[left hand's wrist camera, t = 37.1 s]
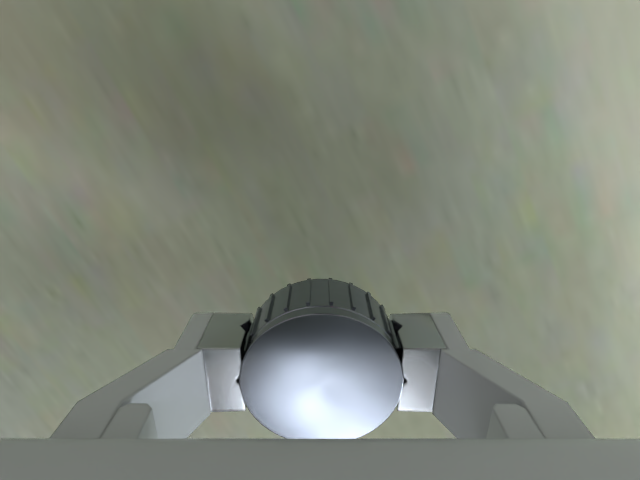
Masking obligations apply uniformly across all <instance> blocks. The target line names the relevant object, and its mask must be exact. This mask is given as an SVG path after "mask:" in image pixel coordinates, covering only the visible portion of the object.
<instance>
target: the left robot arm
mask: <svg viewBox="0 0 640 480" xmlns="http://www.w3.org/2000/svg"><path fill="white" fill-rule="evenodd" d="M390 320H391V321H392V324H393V327H394V330H395V333H396V337H397V341H398V344H399V347H400V349H399V351H398V353H399V356H400V360H401V363H402V368H403V374H404V383H403V390H402V394H401V397H400V399H399V402H398V404H397V410H398V411H419V412H433V413H432V414H433V415H434V416H435V417H436V418H437V419H438V420H439V421H440V422H441V423H442V424H443V425H444V426H445V427H446V428H447V429H448V430H449V431H450V432H451V433H452V434H453V435H454V436H455V437H456V438H457V439H186V438H187V437H188V436H189V435H190V434H191V433H192V432H193V431H194V430H195V429H196V428H197V427H198V426H199V425H200V424H201V423H202V422H203V421H204V420H205V419H206V418H207V417H208V416H209V415H210V414H211V413H210V412H224V411H246V407H247V406H246V404H245V402H244V400H243V397H242V394H241V390H240V384H239V373H240V367H241V363H242V359H243V356H244V348H245V345H246V336H247V332H248V331H250V327H251V324H252V323H253V321H254V319H253V315H252V313H213V312H211V313H194V314H193V315H192V317H191V318H190V320H189V322H188V324H187V326H186V327H185V329H184V331H183V333H182V335H181V336H180V338H179V340H178V342H177V344H176V345H175V347H174V349H167V350H166V351H164V352H162V353H160V354H159V355H157V356H155V357H154V358H152V359H150V360H148V361H147V362H145V363H143V364H142V365H140V366H138V367H136V368H135V369H133V370H131V371H130V372H128V373H126V374H124V375H123V376H121V377H119V378H117V379H116V380H114V381H112V382H111V383H109V384H107V385H105V386H104V387H102V388H100V389H99V390H97V391H95V392H93V393H92V394H90V395H88V396H87V397H85V398H83V399H81V400H80V401H78V402H77V403H76V404H75V406H74V407H73V408H72V410H71V411H70V412H69V413H68V415H67V416H66V417H65V419H64V420H63V421H62V423H61V424H60V425H59V427H58V428H57V429H56V430H55V432H54V433H53V434H52V436H51V437H50V438H49V439H0V480H640V439H595V438H594V436H593V435H592V434H591V432H590V431H589V430H588V428H587V427H586V426H585V425H584V423H583V422H582V421H581V419H580V418H579V417H578V416H577V414H576V413H575V412H574V410H573V409H572V408H571V406H570V405H569V404H568V403H567V402H566V401H564V400H562V399H561V398H559V397H557V396H555V395H554V394H552V393H550V392H549V391H547V390H545V389H543V388H542V387H540V386H538V385H536V384H535V383H533V382H531V381H530V380H528V379H526V378H524V377H523V376H521V375H519V374H517V373H516V372H514V371H512V370H511V369H509V368H507V367H505V366H504V365H502V364H500V363H499V362H497V361H495V360H493V359H492V358H490V357H488V356H486V355H485V354H483V353H481V352H480V351H478V350H476V349H470V348H469V347H468V345H467V343H466V342H465V340H464V338H463V336H462V335H461V333H460V331H459V329H458V328H457V326H456V324H455V322H454V321H453V319H452V317H451V316H450V314H449V313H447V312H442V313H411V314H390V318H389V321H390Z"/></svg>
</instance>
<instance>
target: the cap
mask: <svg viewBox="0 0 640 480" xmlns="http://www.w3.org/2000/svg"><path fill="white" fill-rule="evenodd" d="M399 349H400V347H399V344H398V341H397V337H396V333H395V330H394V327H393V324H392V321H391V320H390V321H389V319H388V317H387V315H386V313H385V309H384V306H383V305H380V304H379V303H378V302H377V301H376V300H375V299H374V298H373V297H372V296H371V294H370V293H369V292H367V293H366V292H365V291H363V290H362V289H360V288H358V287H356V286H354V285H353V284H352V283H346V282H342V281H338V280H332V278H329V279H311V278H310V279H307V280H305V281H301V282H297V283H294V284H288V285H287V287H285V288H283V289H281V290H279V291H278V292H276V293H275V294H273V293H272V294H271V295H270V297H269V299H268V300H267V301H266V302H265V303H264V304H263V305H262V306H261V308H260V307H258V308H257V312H256V315H255V319H254V321H253V323H252V324H251V327H250V331H248V332H247V336H246V345H245V348H244V356H243V359H242V363H241V367H240V373H239V384H240V390H241V394H242V397H243V400H244V402H245V404H246V406H247V408H248V409H249V411H250V412H251V414H252V415H253V416H254V417H255V418H256V419H257V420H258V421H259V422H260V423H261V424H262V425H263V426H265V427H266V428H267V429H269V430H270V431H272V432H274V433H275V434H277V435H279V436H281V437H284V438H286V439H357V438H359V437H362V436H364V435H366V434H368V433H369V432H371V431H373V430H374V429H376V428H377V427H378V426H380V425H381V424H382V423H383V422H384V421H385V420H386V419H387V418H388V417H389V416H390V415H391V414H392V412H393V411H394V409H395V408H396V406H397V404H398V402H399V399H400V397H401V394H402V390H403V383H404V374H403V368H402V363H401V360H400V356H399V353H398V351H399Z"/></svg>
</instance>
